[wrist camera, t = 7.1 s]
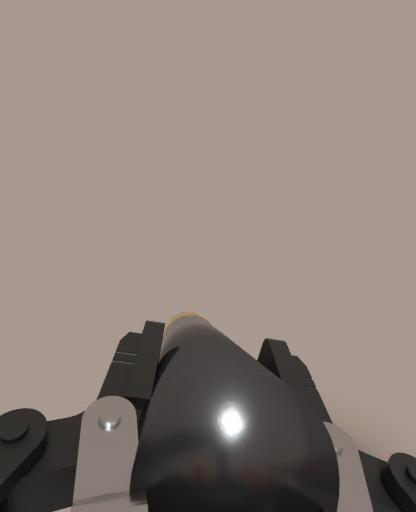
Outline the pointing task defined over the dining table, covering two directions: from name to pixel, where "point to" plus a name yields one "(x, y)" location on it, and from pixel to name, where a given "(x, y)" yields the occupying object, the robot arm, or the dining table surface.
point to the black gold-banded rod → (229, 433)
